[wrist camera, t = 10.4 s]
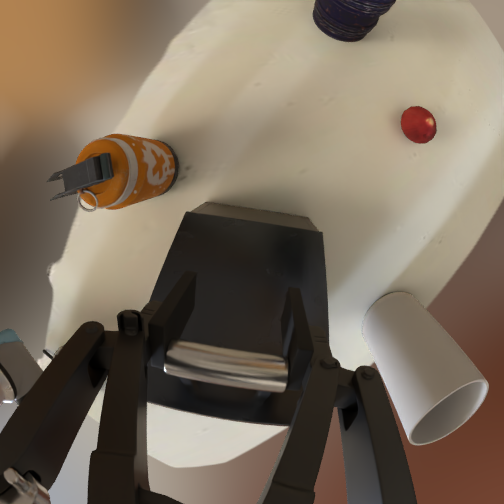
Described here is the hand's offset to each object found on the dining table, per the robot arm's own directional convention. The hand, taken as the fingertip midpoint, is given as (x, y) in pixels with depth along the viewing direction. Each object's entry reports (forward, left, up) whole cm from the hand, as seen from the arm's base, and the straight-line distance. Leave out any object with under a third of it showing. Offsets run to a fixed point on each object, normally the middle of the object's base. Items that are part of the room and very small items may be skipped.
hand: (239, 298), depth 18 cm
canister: (-18, +6, -25) cm, 31 cm away
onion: (+22, +20, -25) cm, 39 cm away
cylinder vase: (+28, -14, -25) cm, 40 cm away
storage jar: (+9, +37, -25) cm, 46 cm away
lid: (0, -3, -5) cm, 6 cm away
